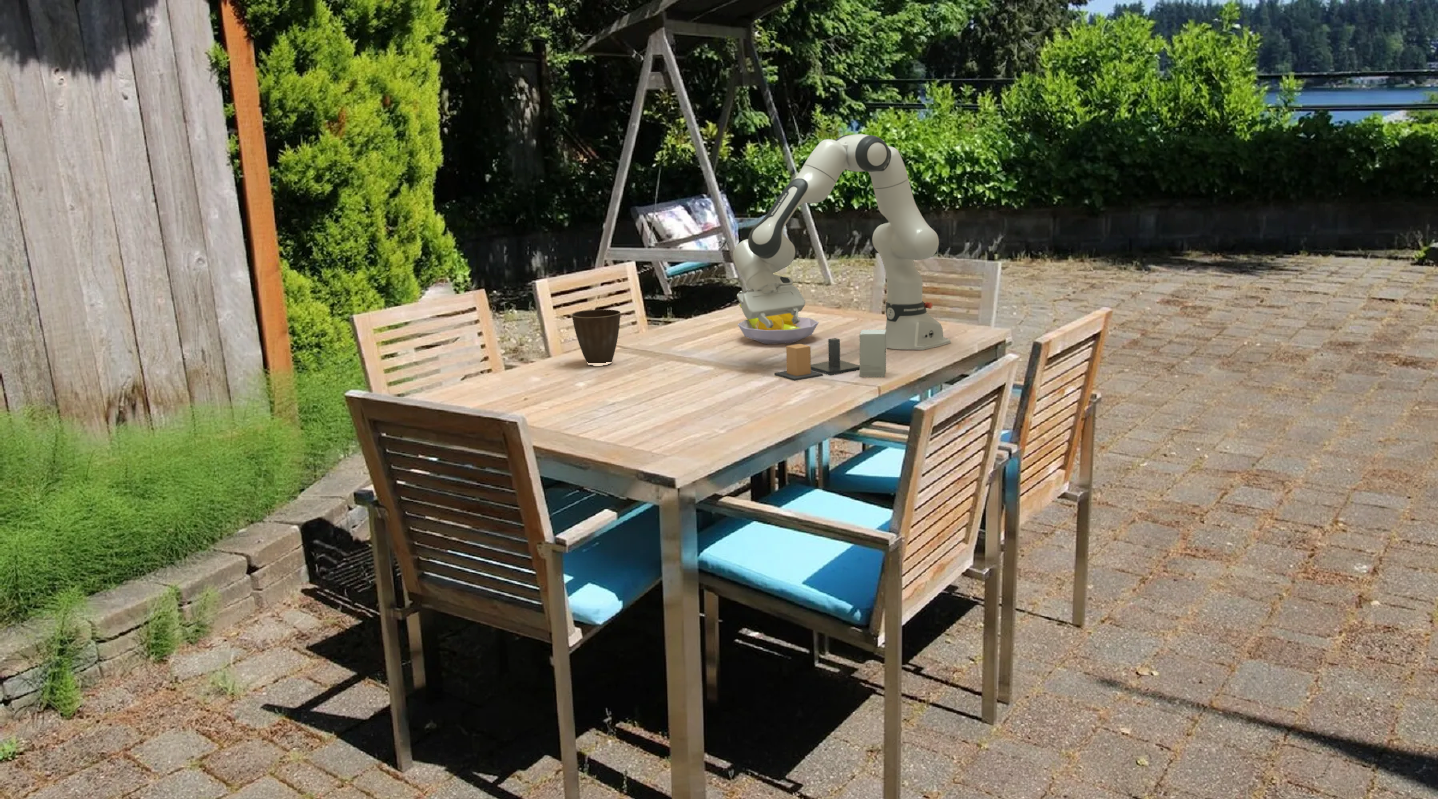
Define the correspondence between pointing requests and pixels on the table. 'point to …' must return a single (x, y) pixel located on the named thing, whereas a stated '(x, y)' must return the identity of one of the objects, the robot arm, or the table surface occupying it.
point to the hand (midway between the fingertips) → (783, 324)
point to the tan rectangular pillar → (798, 359)
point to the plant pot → (597, 334)
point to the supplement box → (872, 353)
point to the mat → (800, 377)
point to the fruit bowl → (778, 329)
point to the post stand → (834, 361)
